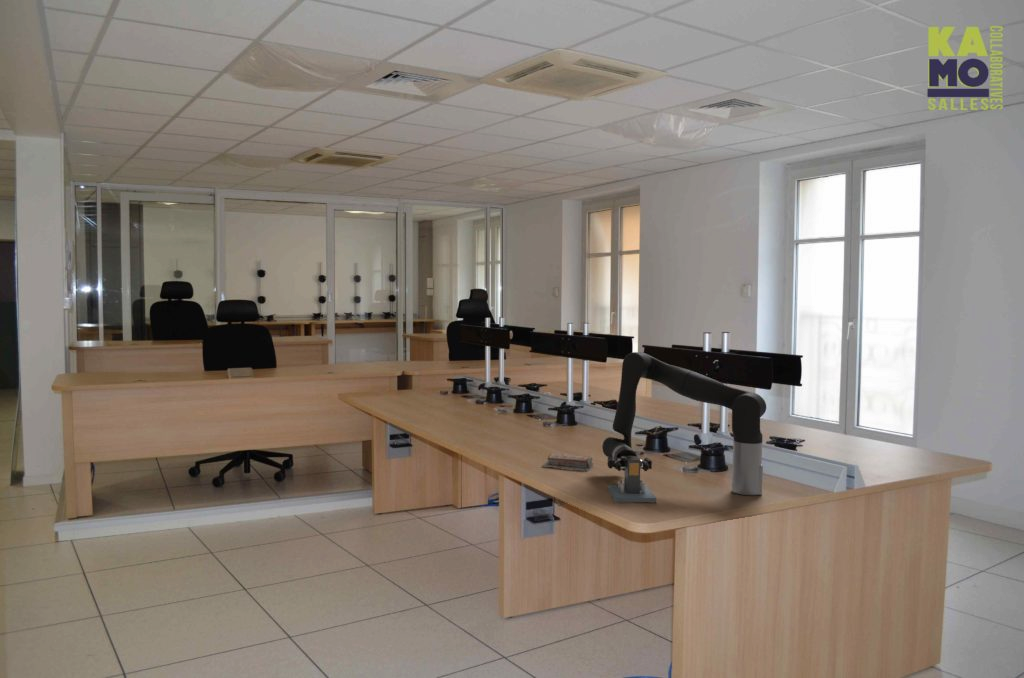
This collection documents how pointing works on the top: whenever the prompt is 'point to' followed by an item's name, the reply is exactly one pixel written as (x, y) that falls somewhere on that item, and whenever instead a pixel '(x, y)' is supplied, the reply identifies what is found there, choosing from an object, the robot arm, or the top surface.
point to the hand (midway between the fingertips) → (633, 467)
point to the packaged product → (569, 462)
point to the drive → (632, 475)
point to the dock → (622, 496)
